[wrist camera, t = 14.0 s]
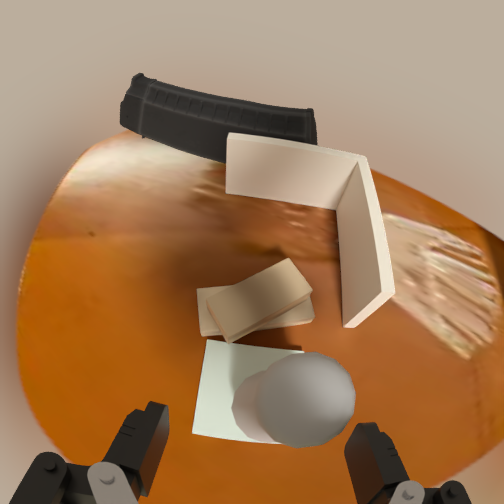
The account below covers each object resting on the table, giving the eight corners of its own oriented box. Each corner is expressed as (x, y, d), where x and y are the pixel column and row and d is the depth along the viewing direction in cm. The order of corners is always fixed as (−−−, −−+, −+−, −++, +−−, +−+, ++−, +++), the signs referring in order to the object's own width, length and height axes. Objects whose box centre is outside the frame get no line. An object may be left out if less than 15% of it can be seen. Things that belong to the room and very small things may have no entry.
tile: (302, 352, 24) (303, 351, 23) (294, 443, 19) (295, 444, 18) (207, 340, 24) (207, 339, 23) (192, 432, 19) (192, 433, 18)
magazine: (354, 130, 28) (142, 30, 25) (351, 143, 27) (125, 36, 23) (289, 207, 43) (130, 121, 39) (283, 222, 41) (117, 131, 38)
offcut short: (284, 270, 26) (288, 257, 24) (306, 300, 25) (312, 290, 23) (207, 308, 23) (205, 298, 22) (228, 344, 22) (228, 337, 20)
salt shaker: (295, 443, 18) (368, 469, 8) (225, 433, 19) (222, 460, 8) (306, 379, 22) (382, 338, 11) (239, 368, 22) (252, 317, 11)
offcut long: (299, 287, 28) (304, 277, 26) (308, 324, 26) (315, 316, 24) (198, 298, 26) (196, 288, 24) (202, 338, 24) (200, 331, 22)
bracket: (344, 204, 34) (366, 156, 27) (353, 327, 25) (395, 293, 18) (227, 186, 34) (229, 132, 27) (199, 309, 25) (188, 266, 18)
